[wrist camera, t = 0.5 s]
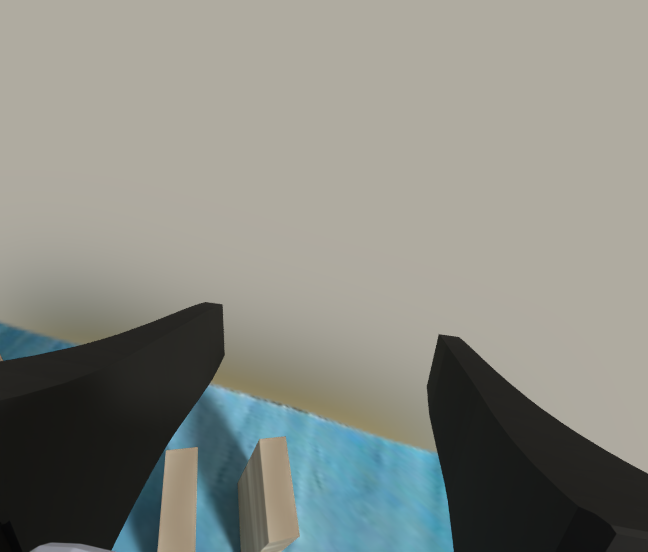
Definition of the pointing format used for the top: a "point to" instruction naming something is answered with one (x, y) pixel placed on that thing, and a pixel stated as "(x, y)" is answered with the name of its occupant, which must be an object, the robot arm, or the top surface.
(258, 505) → the domino
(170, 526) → the domino
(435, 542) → the top surface
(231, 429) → the top surface
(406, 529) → the top surface
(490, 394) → the robot arm
